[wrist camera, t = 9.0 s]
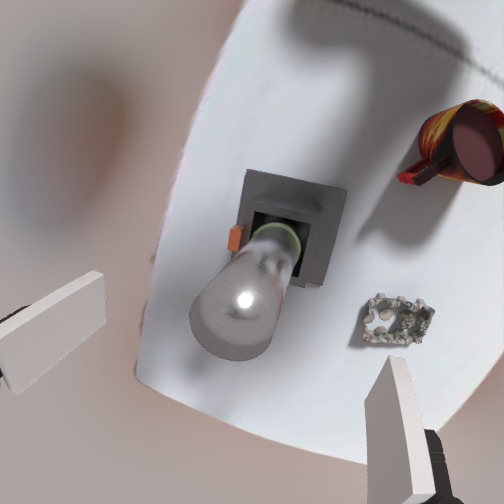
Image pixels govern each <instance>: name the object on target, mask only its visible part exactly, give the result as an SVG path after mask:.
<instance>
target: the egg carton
mask: <svg viewBox="0 0 504 504" xmlns="http://www.w3.org/2000/svg"><path fill="white" fill-rule="evenodd" d="M383 300H384V301H386V302H387V304H388V306H389V307H394V308H396V309H397V307H399V306H400V303H401V302H403V304H406V305H407V307H408V309H409V310H411V311H412V312H416V311H418V310H421V308H422V307H423V308H424V310H426V311H425V312H424V313H421V314H420V315H419V316H418V317H417V320H416V321H417V324H418V326H419V327H420V329H419V330H418V331H415V332H413V333H412V334H411V335H409V336H408V335H406V333H405V331H404V329H410V328H411V327H412V326H413V325H414V323H415V321H414V318H413V316H412V314H411V312H410V311H408V310H405V311H402V312H401V313H400V314H399V316H398V319H399V322H400V325H401V329H396V330H395V331H394V332H393V333H388V332H387V329H386V328H385V327H383V326H379V327H377V328H376V329H375V330H374V331H370V330H368V327H367V325H365V324H368V323H371V322H372V321H373V320H374V317H375V314H374V311H373V308H372V307H373V306H376V305H377V304H378V303H379V302H380V301H383ZM368 306H369V314H368V315H366V316H365V318H364V320H363V326H364V330H365V332H364V336H363V340H364V341H368V342H371V343H372V342H374V343H381V342H385V343H396V344H408V343H413V342H415V343H416V344H419V343H421V342H422V338H423V336H425V335H426V331H427V329H428V327H429V325H430V323H431V320H432V316H433V315H434V313H435V310H434V309H432V308H431V307H428V306H426V303H425V302H424V300H423V299H417V301H416V302H415V303H412V302H408V301H406V299H405V297H404V296H398V297H397V299H392V298H386V297H385V294H384V293H378V294H377V296H376V297H375V298H372V299H370V300H369V302H368ZM392 314H393V313H392V310H391V309H390V308H384V309H382V310H381V311H380V312H379V317H380V319H381V320H389V319H390V318H391V317H392Z"/></svg>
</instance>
